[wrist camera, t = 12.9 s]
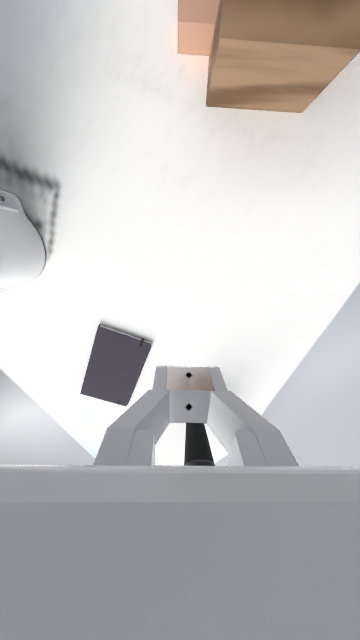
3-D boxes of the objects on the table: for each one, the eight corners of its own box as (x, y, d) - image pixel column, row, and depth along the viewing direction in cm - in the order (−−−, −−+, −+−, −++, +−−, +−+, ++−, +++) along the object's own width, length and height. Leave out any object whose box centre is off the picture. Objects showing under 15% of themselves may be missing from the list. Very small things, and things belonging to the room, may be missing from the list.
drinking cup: (204, 407, 52) (219, 496, 34) (209, 424, 55) (226, 516, 36) (178, 412, 53) (179, 503, 34) (185, 430, 56) (189, 522, 37)
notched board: (342, 65, 26) (369, 36, 23) (177, 53, 26) (177, 21, 22) (350, 33, 25) (380, -3, 22) (178, 20, 25) (178, -19, 21)
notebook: (100, 323, 42) (83, 389, 49) (98, 325, 41) (80, 393, 48) (152, 340, 44) (128, 402, 52) (152, 344, 43) (126, 406, 50)
